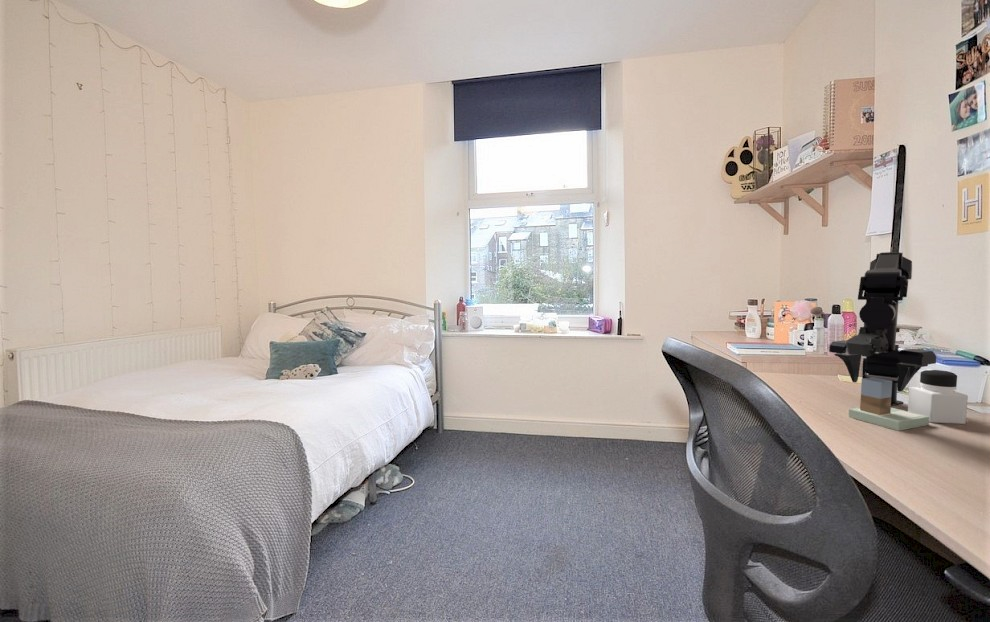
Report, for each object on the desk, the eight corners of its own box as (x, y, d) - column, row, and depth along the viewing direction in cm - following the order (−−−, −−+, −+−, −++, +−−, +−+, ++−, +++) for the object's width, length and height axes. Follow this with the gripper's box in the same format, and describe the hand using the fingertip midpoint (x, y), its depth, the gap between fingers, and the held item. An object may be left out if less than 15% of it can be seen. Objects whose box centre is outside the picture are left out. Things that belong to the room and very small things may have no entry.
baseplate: (877, 411, 105) (878, 404, 105) (928, 424, 95) (929, 416, 95) (848, 416, 101) (849, 408, 101) (898, 430, 92) (899, 421, 92)
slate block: (871, 392, 101) (872, 377, 101) (891, 397, 97) (892, 380, 97) (860, 394, 100) (861, 378, 100) (880, 398, 96) (881, 382, 96)
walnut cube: (870, 408, 101) (871, 392, 101) (890, 413, 98) (891, 397, 97) (860, 410, 100) (860, 394, 100) (879, 415, 96) (880, 398, 96)
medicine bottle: (966, 424, 95) (970, 374, 94) (930, 422, 96) (933, 373, 96) (940, 414, 102) (943, 368, 101) (906, 413, 103) (909, 367, 103)
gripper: (815, 321, 104) (812, 380, 105) (907, 329, 86) (903, 400, 87) (845, 319, 107) (842, 377, 108) (939, 326, 89) (935, 395, 91)
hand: (876, 386), depth 99 cm, fingers open, 9 cm apart
